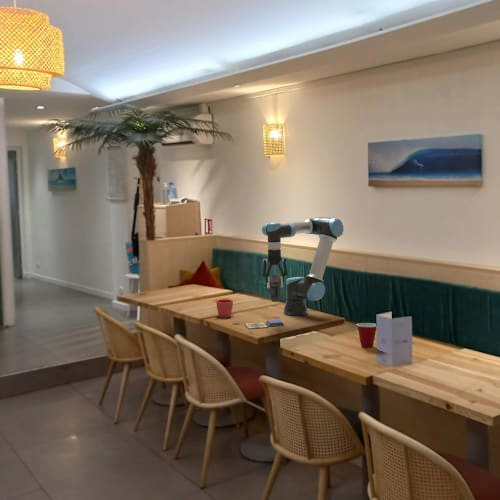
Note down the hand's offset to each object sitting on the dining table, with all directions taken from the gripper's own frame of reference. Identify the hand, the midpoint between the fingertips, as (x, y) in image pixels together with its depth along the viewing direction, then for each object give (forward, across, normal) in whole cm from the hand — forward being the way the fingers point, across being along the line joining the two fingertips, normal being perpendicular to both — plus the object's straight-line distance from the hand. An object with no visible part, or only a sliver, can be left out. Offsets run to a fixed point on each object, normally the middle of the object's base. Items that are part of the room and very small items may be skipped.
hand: (275, 287), depth 371 cm
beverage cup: (+8, 0, 0) cm, 8 cm away
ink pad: (+22, 0, 0) cm, 22 cm away
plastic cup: (+22, -34, +59) cm, 72 cm away
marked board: (+22, +12, +1) cm, 25 cm away
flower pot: (+22, +26, -31) cm, 46 cm away
